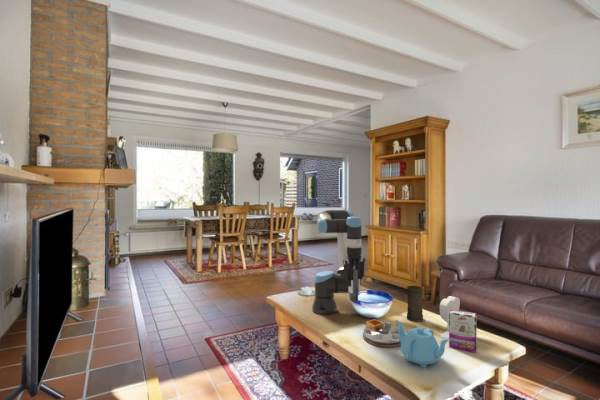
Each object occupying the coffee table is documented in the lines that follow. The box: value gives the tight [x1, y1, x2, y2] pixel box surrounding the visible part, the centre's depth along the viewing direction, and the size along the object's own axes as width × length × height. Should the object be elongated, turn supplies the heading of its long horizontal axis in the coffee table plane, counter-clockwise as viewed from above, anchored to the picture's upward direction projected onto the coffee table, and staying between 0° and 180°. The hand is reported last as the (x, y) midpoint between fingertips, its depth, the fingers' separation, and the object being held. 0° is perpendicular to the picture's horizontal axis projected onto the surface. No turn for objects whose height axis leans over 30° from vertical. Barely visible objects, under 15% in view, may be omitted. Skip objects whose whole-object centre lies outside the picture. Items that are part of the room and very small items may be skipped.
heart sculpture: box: [439, 295, 461, 339], centre depth 166 cm, size 16×5×18 cm, turn 132°
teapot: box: [395, 319, 450, 369], centre depth 139 cm, size 16×20×14 cm
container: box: [406, 285, 424, 323], centre depth 185 cm, size 9×9×18 cm
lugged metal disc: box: [363, 318, 400, 345], centre depth 161 cm, size 19×19×4 cm
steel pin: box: [349, 267, 359, 302], centre depth 169 cm, size 4×4×16 cm
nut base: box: [362, 332, 401, 349], centre depth 161 cm, size 20×20×1 cm
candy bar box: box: [448, 310, 478, 353], centre depth 150 cm, size 11×5×16 cm, turn 59°
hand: (354, 291), depth 169 cm, fingers closed on steel pin, 4 cm apart
